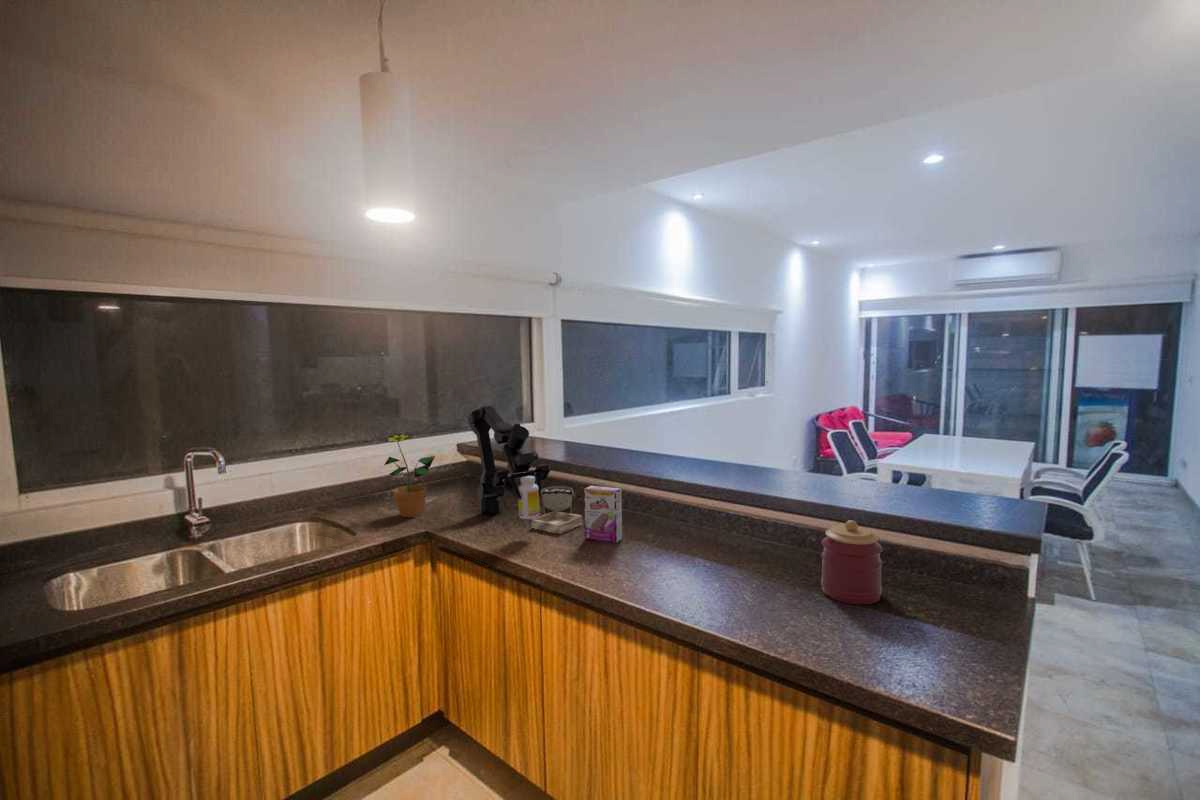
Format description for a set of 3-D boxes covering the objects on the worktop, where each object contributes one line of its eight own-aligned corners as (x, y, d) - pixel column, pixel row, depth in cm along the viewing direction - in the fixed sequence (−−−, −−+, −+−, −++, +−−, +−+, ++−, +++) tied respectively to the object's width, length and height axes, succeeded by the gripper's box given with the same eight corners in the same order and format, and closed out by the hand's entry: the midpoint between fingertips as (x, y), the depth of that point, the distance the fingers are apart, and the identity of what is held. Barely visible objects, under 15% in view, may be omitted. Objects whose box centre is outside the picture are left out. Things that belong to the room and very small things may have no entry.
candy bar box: (584, 539, 168) (583, 488, 167) (591, 534, 173) (589, 485, 172) (616, 544, 164) (615, 491, 163) (623, 539, 168) (622, 487, 167)
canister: (879, 610, 118) (880, 532, 116) (816, 598, 125) (817, 523, 123) (883, 588, 129) (885, 517, 127) (826, 578, 135) (826, 509, 134)
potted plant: (375, 517, 199) (371, 437, 196) (421, 505, 213) (417, 431, 211) (400, 525, 187) (395, 440, 185) (446, 513, 201) (443, 434, 199)
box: (531, 528, 181) (531, 519, 181) (554, 518, 191) (554, 510, 191) (560, 534, 174) (560, 525, 174) (582, 524, 184) (582, 515, 184)
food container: (577, 512, 199) (576, 485, 198) (574, 517, 193) (573, 490, 192) (544, 512, 200) (543, 485, 200) (540, 517, 194) (540, 489, 193)
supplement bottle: (542, 514, 174) (541, 475, 173) (535, 520, 168) (533, 480, 167) (523, 512, 176) (522, 474, 175) (515, 519, 170) (513, 479, 169)
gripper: (494, 446, 168) (509, 487, 160) (547, 440, 179) (564, 478, 170) (486, 466, 176) (500, 507, 167) (537, 459, 186) (553, 497, 178)
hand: (530, 497), depth 170 cm, fingers closed on supplement bottle, 6 cm apart
